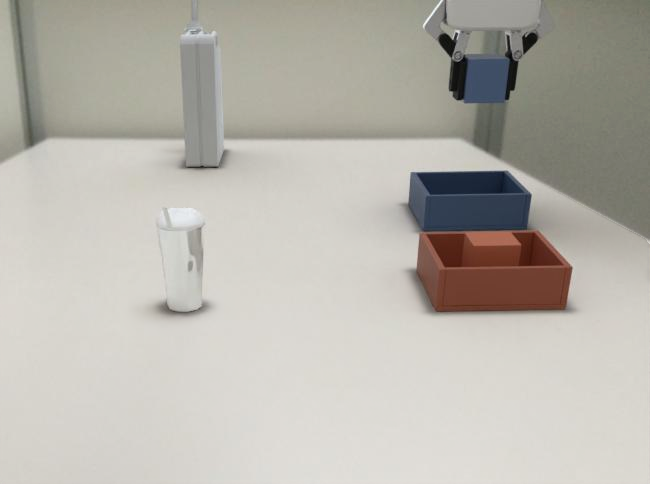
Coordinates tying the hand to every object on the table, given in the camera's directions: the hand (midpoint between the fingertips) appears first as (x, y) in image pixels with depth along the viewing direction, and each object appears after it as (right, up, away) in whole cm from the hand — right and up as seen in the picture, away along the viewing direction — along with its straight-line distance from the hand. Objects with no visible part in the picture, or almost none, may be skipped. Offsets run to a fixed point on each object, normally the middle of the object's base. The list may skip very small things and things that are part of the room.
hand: (480, 96), depth 110 cm
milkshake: (-33, -29, -18) cm, 47 cm away
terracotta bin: (-3, -26, -14) cm, 30 cm away
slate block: (0, 0, 0) cm, 0 cm away
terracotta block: (-3, -25, -15) cm, 29 cm away
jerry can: (-33, +9, +39) cm, 52 cm away
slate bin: (0, -11, +8) cm, 14 cm away
